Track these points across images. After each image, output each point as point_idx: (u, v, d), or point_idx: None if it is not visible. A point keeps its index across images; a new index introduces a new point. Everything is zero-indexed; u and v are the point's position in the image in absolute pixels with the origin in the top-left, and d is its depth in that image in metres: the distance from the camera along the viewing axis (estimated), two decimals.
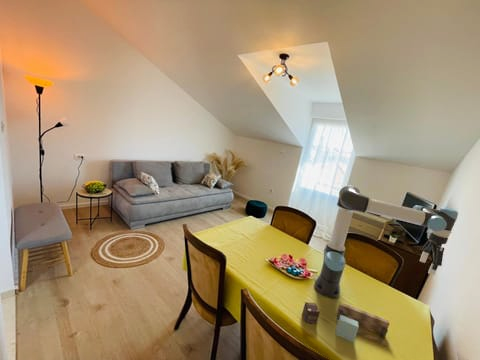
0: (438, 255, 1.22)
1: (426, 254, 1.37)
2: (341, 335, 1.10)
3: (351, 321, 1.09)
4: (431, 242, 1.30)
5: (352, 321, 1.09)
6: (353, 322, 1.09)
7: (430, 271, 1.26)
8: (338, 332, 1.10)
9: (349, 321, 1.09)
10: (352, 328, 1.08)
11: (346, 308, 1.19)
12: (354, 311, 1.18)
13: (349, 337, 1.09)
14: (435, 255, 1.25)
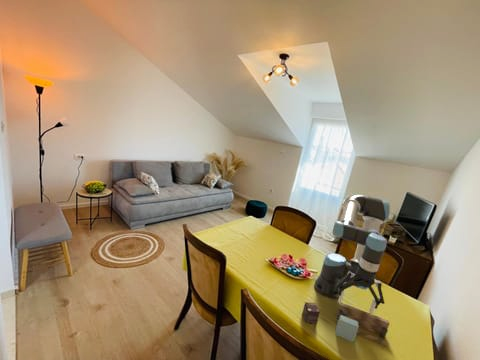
0: (343, 277, 1.08)
1: (373, 303, 1.04)
2: (341, 335, 1.10)
3: (351, 321, 1.09)
4: None
5: (352, 321, 1.09)
6: (353, 322, 1.09)
7: (339, 297, 1.10)
8: (338, 332, 1.10)
9: (349, 321, 1.09)
10: (352, 328, 1.08)
11: (346, 308, 1.19)
12: (354, 311, 1.18)
13: (349, 337, 1.09)
14: (348, 282, 1.07)
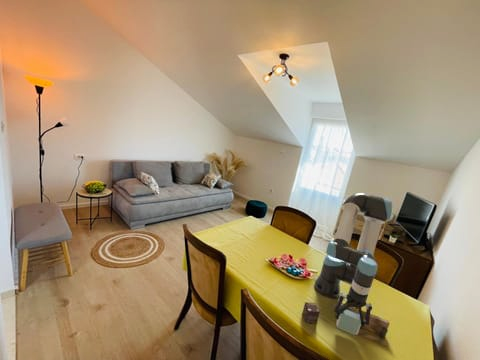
0: (337, 301, 1.11)
1: None
2: (343, 328, 1.10)
3: (353, 314, 1.09)
4: None
5: (354, 314, 1.09)
6: (355, 315, 1.08)
7: (337, 320, 1.13)
8: (340, 325, 1.10)
9: (351, 314, 1.08)
10: (354, 321, 1.07)
11: None
12: (354, 311, 1.18)
13: (351, 330, 1.09)
14: (343, 305, 1.10)
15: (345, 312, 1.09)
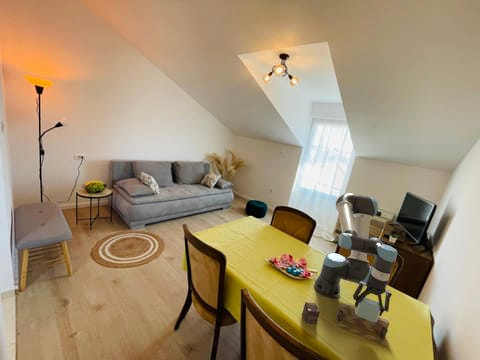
0: (357, 288, 1.14)
1: None
2: (362, 316, 1.12)
3: (372, 302, 1.11)
4: None
5: (373, 302, 1.11)
6: (374, 303, 1.11)
7: (356, 308, 1.16)
8: (359, 313, 1.13)
9: (370, 302, 1.11)
10: (373, 308, 1.10)
11: (346, 308, 1.19)
12: (354, 311, 1.18)
13: (371, 317, 1.11)
14: (362, 292, 1.13)
15: (364, 299, 1.12)
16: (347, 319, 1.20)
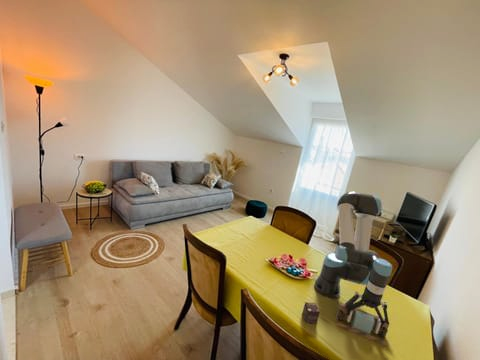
0: (351, 298, 1.16)
1: (378, 322, 1.12)
2: None
3: (367, 316, 1.14)
4: None
5: (368, 316, 1.14)
6: (369, 317, 1.13)
7: (348, 316, 1.18)
8: (354, 327, 1.15)
9: (365, 316, 1.14)
10: (368, 323, 1.12)
11: (346, 308, 1.19)
12: (354, 311, 1.18)
13: (365, 331, 1.14)
14: (356, 302, 1.15)
15: (359, 314, 1.14)
16: None
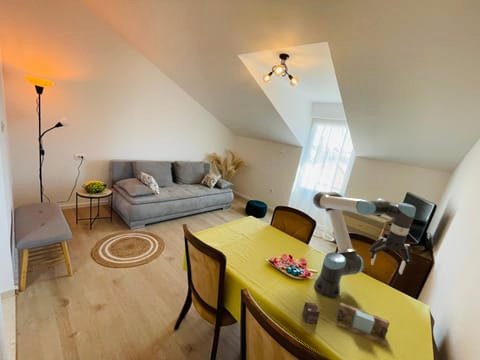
0: (375, 243, 1.23)
1: (402, 264, 1.19)
2: None
3: (367, 316, 1.14)
4: None
5: (368, 316, 1.14)
6: (369, 317, 1.13)
7: (371, 260, 1.26)
8: (354, 327, 1.15)
9: (365, 316, 1.14)
10: (368, 323, 1.12)
11: (346, 308, 1.19)
12: (354, 311, 1.18)
13: (365, 331, 1.14)
14: (379, 246, 1.23)
15: (359, 314, 1.14)
16: (347, 319, 1.20)
